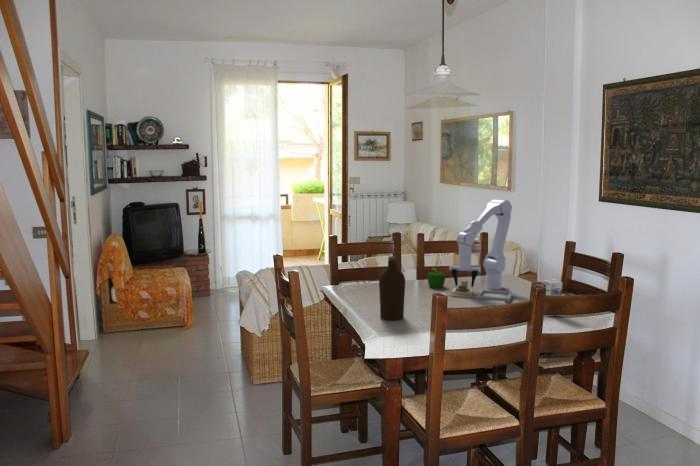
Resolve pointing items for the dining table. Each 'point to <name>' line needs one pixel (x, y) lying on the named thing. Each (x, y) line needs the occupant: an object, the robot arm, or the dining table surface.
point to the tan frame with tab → (457, 292)
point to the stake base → (462, 289)
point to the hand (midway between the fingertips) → (464, 286)
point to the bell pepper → (436, 279)
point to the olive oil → (392, 292)
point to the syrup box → (553, 287)
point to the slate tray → (495, 297)
